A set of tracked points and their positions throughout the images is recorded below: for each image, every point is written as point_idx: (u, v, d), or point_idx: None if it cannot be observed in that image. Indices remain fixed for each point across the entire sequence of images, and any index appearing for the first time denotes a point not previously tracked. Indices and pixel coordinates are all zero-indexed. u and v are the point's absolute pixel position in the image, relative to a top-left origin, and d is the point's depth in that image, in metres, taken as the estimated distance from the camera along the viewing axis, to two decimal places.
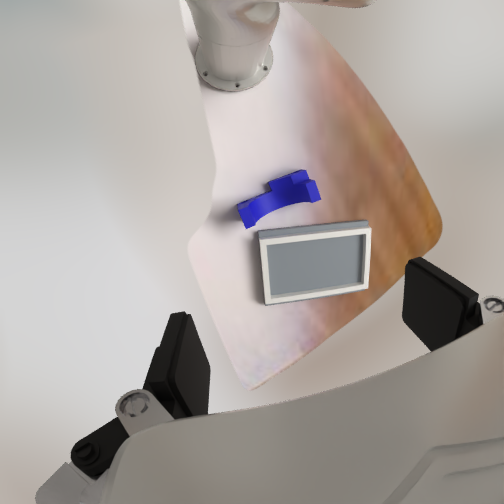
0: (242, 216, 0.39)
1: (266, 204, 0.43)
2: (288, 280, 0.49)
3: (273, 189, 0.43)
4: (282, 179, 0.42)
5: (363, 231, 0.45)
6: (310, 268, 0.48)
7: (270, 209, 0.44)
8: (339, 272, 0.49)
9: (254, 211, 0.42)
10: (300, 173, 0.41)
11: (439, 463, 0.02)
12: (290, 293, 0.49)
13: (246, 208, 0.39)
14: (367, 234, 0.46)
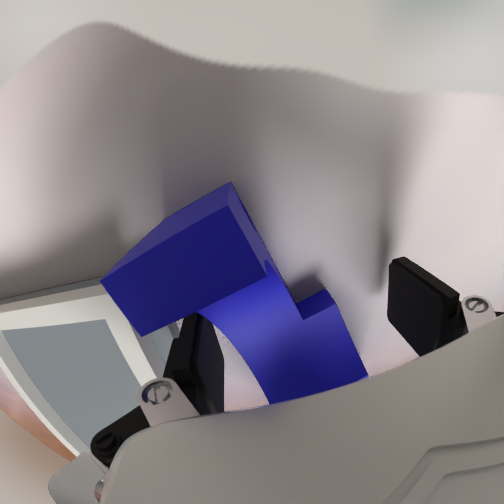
0: (181, 245, 0.05)
1: (249, 311, 0.10)
2: (45, 368, 0.12)
3: (310, 322, 0.11)
4: (349, 347, 0.11)
5: None
6: (97, 415, 0.13)
7: (229, 327, 0.10)
8: None
9: None
10: None
11: (439, 463, 0.02)
12: (23, 372, 0.11)
13: (250, 268, 0.05)
14: None
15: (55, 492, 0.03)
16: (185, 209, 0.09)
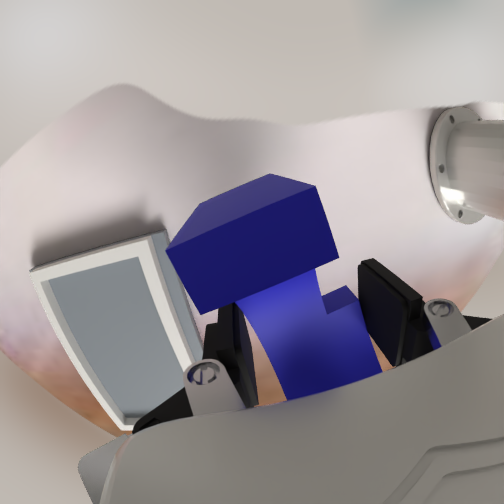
0: (265, 220, 0.05)
1: (280, 301, 0.10)
2: (82, 308, 0.20)
3: (333, 317, 0.11)
4: (366, 343, 0.11)
5: None
6: (116, 344, 0.21)
7: (257, 316, 0.10)
8: (127, 389, 0.23)
9: None
10: None
11: (439, 463, 0.02)
12: (61, 315, 0.20)
13: (325, 248, 0.05)
14: None
15: (84, 471, 0.04)
16: (229, 194, 0.09)
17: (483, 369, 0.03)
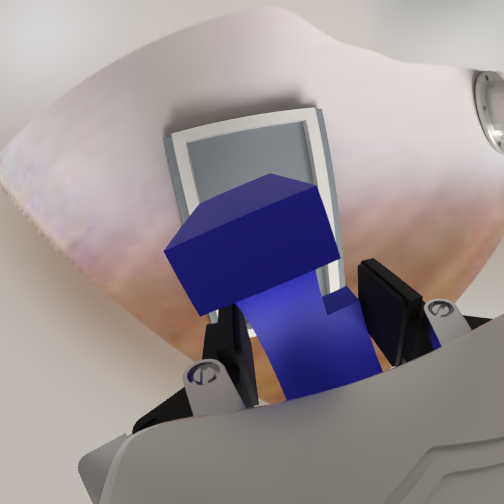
0: (266, 220, 0.05)
1: (280, 302, 0.10)
2: (225, 175, 0.23)
3: (334, 318, 0.11)
4: (367, 344, 0.11)
5: None
6: None
7: (256, 317, 0.10)
8: None
9: None
10: None
11: (439, 463, 0.02)
12: (196, 184, 0.22)
13: (327, 249, 0.05)
14: None
15: (84, 471, 0.04)
16: (228, 194, 0.09)
17: (483, 369, 0.03)
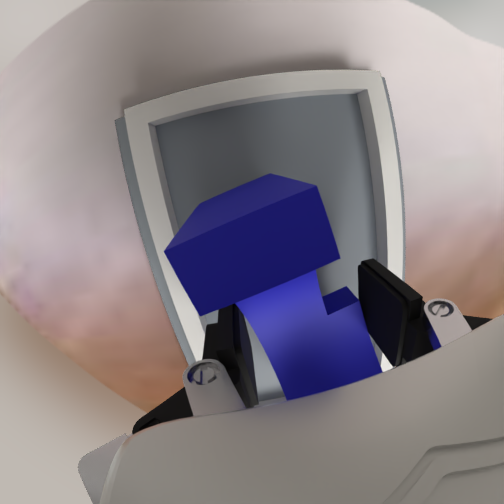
0: (266, 220, 0.05)
1: (280, 302, 0.10)
2: (222, 183, 0.12)
3: (333, 318, 0.11)
4: (367, 344, 0.11)
5: None
6: None
7: (256, 317, 0.10)
8: (263, 350, 0.16)
9: None
10: None
11: (439, 463, 0.02)
12: (170, 201, 0.12)
13: (327, 249, 0.05)
14: None
15: (84, 471, 0.04)
16: (228, 194, 0.09)
17: (483, 369, 0.03)
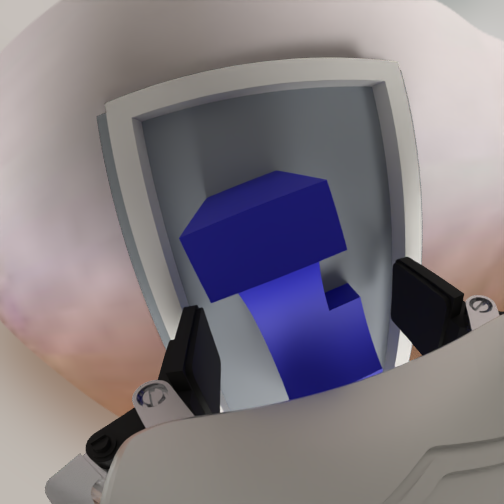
0: (278, 210, 0.05)
1: (283, 296, 0.10)
2: (219, 188, 0.11)
3: (335, 313, 0.11)
4: (367, 340, 0.11)
5: None
6: None
7: (260, 311, 0.11)
8: (265, 371, 0.14)
9: None
10: None
11: (439, 463, 0.02)
12: (158, 208, 0.10)
13: (334, 240, 0.05)
14: None
15: (52, 495, 0.03)
16: (236, 189, 0.09)
17: (483, 369, 0.03)
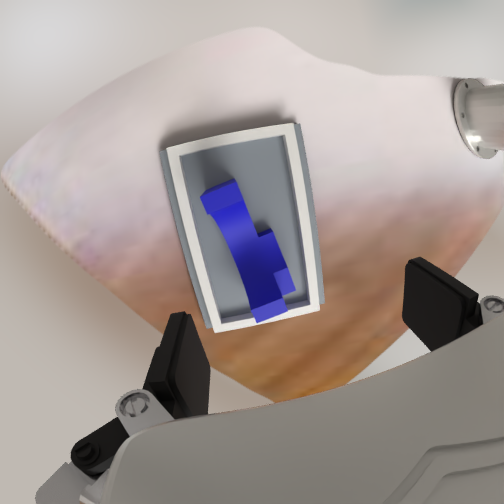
0: (224, 189, 0.20)
1: (236, 228, 0.25)
2: (213, 184, 0.26)
3: (261, 239, 0.26)
4: (279, 253, 0.26)
5: (314, 299, 0.29)
6: None
7: (227, 235, 0.26)
8: (236, 276, 0.29)
9: (227, 210, 0.23)
10: (291, 282, 0.26)
11: (439, 463, 0.02)
12: (188, 192, 0.26)
13: (239, 197, 0.20)
14: (309, 307, 0.29)
15: None
16: (217, 186, 0.24)
17: (483, 369, 0.03)
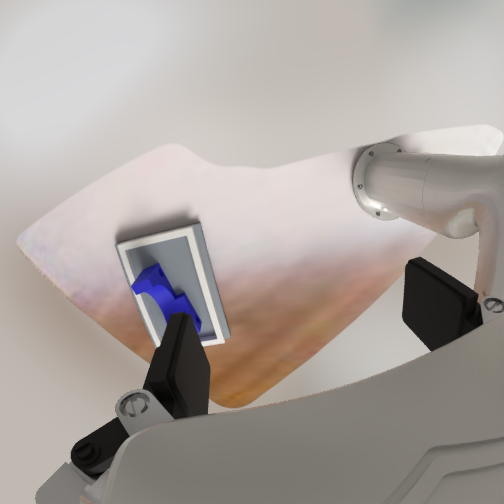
0: (142, 282, 0.34)
1: (160, 295, 0.40)
2: (148, 265, 0.40)
3: (177, 300, 0.41)
4: (188, 309, 0.41)
5: (219, 335, 0.43)
6: None
7: (156, 298, 0.40)
8: None
9: (150, 288, 0.37)
10: (196, 327, 0.41)
11: (439, 463, 0.02)
12: (134, 270, 0.40)
13: (151, 286, 0.35)
14: (217, 340, 0.44)
15: None
16: (146, 270, 0.39)
17: (483, 369, 0.03)
